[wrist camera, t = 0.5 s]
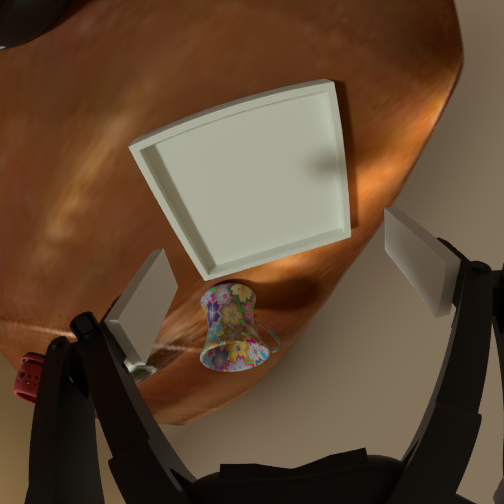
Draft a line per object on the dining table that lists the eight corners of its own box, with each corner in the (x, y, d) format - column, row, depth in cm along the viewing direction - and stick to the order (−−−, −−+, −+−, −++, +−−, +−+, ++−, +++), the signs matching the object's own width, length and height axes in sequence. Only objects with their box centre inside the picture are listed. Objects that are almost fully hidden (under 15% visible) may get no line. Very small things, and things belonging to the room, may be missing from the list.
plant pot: (23, 362, 54) (16, 398, 45) (20, 344, 47) (10, 386, 39) (61, 377, 60) (56, 413, 51) (63, 362, 54) (57, 404, 45)
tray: (133, 139, 24) (128, 146, 23) (325, 78, 23) (333, 81, 21) (204, 269, 38) (204, 281, 36) (344, 226, 36) (350, 236, 35)
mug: (192, 310, 44) (193, 369, 36) (206, 272, 39) (209, 338, 31) (259, 318, 48) (270, 372, 40) (282, 284, 43) (299, 344, 35)
